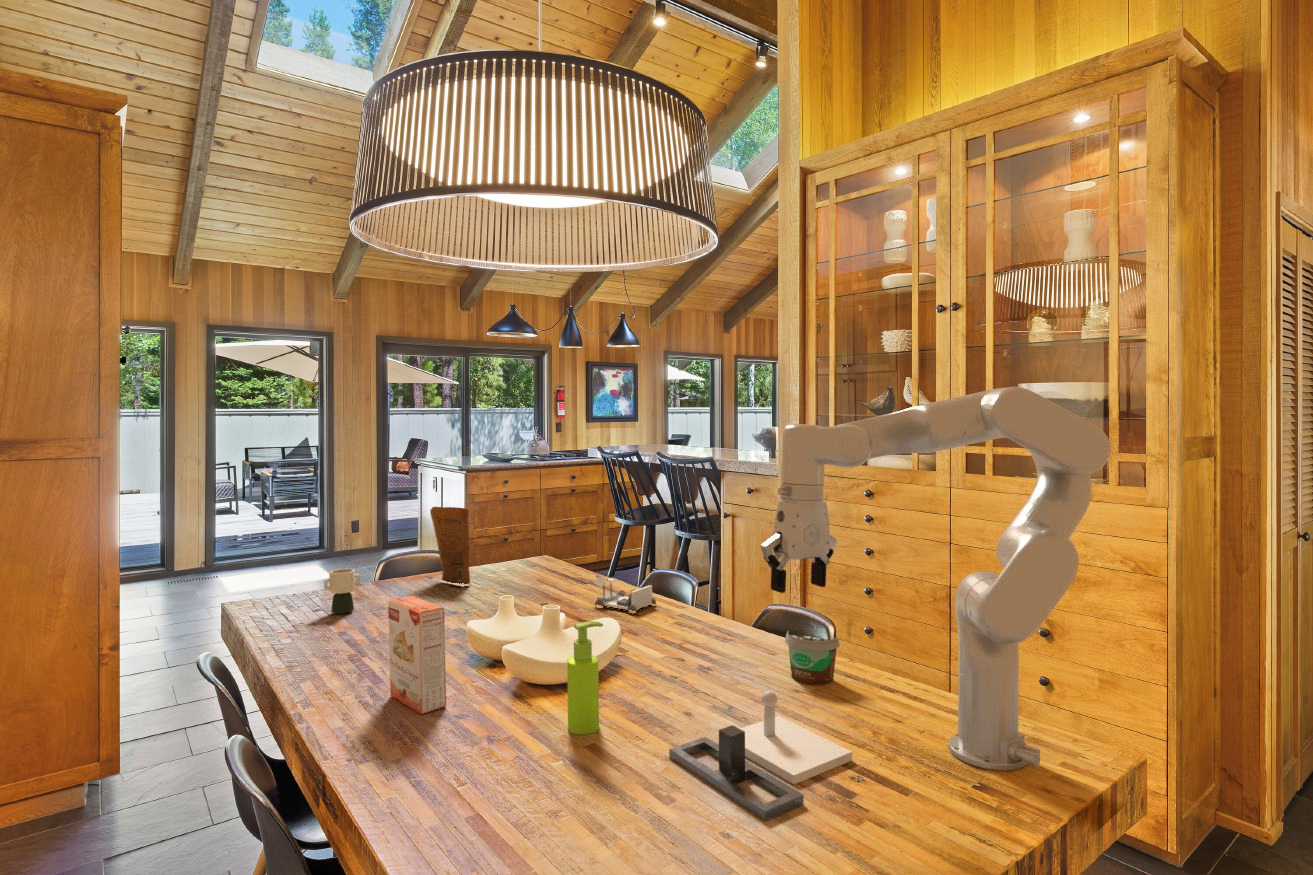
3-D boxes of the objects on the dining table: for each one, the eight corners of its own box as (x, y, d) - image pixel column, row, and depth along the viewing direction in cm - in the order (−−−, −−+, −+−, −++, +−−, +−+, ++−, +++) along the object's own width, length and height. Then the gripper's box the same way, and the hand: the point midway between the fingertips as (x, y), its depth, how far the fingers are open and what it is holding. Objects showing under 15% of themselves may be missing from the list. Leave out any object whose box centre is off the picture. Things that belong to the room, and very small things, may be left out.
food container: (777, 681, 159) (777, 636, 158) (786, 672, 164) (786, 629, 164) (833, 690, 153) (833, 644, 153) (839, 681, 158) (839, 636, 158)
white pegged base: (852, 760, 122) (852, 705, 122) (793, 784, 114) (793, 726, 114) (778, 723, 137) (778, 674, 136) (721, 742, 129) (721, 691, 128)
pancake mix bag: (462, 590, 245) (461, 509, 245) (429, 582, 257) (428, 505, 256) (478, 586, 251) (477, 507, 250) (445, 579, 262) (444, 503, 262)
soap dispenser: (609, 728, 135) (608, 624, 134) (575, 737, 131) (574, 630, 131) (596, 717, 140) (595, 616, 139) (563, 725, 136) (562, 622, 136)
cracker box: (388, 697, 151) (386, 599, 150) (415, 689, 155) (413, 594, 155) (419, 716, 141) (417, 611, 141) (447, 707, 145) (445, 606, 145)
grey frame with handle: (803, 804, 108) (803, 752, 108) (764, 821, 104) (764, 767, 103) (705, 744, 128) (705, 700, 128) (669, 757, 123) (669, 711, 123)
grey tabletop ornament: (587, 576, 222) (609, 569, 232) (588, 607, 223) (610, 599, 232) (635, 583, 213) (656, 576, 222) (635, 616, 213) (656, 607, 223)
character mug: (354, 607, 224) (354, 566, 223) (365, 611, 219) (364, 569, 219) (319, 614, 216) (318, 572, 215) (330, 618, 211) (329, 575, 210)
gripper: (779, 497, 119) (775, 598, 120) (851, 493, 128) (848, 587, 129) (750, 492, 126) (747, 588, 126) (821, 489, 135) (818, 579, 135)
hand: (798, 588), depth 128 cm, fingers open, 9 cm apart
